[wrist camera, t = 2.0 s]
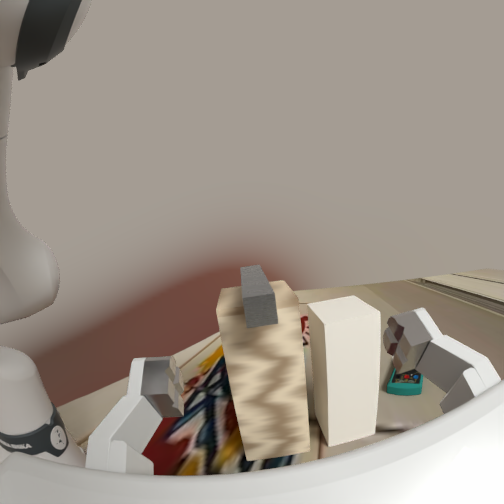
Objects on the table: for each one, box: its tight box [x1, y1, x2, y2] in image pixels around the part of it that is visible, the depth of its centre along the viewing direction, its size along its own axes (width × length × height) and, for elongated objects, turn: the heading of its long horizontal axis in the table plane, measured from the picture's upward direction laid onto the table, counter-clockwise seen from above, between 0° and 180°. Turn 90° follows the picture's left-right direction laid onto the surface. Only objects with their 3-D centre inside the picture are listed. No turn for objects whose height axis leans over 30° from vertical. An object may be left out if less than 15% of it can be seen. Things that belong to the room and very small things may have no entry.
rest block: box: [307, 295, 380, 447], centre depth 42 cm, size 8×10×22 cm
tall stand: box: [216, 280, 310, 461], centre depth 43 cm, size 10×12×26 cm
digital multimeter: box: [387, 367, 423, 395], centre depth 53 cm, size 7×15×3 cm, turn 145°
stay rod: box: [241, 265, 278, 328], centre depth 37 cm, size 3×20×3 cm, turn 3°
